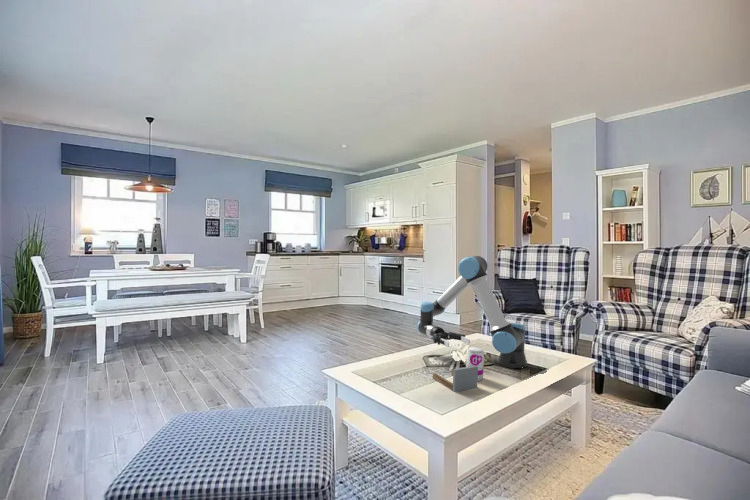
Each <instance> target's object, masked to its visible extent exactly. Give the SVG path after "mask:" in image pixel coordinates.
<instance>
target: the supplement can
mask: <svg viewBox="0 0 750 500" xmlns="http://www.w3.org/2000/svg"><path fill="white" fill-rule="evenodd" d="M484 355H485V351H484V349H483V348H481V347H478V346H468V348H467V350H466V358H465V359H466V365H465V367H470V366H478V377H477V382H479V381H482V380H483V379H484V364H485V363H484V360H485V359H484V357H485V356H484Z"/></svg>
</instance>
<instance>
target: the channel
mask: <svg viewBox="0 0 750 500" xmlns="http://www.w3.org/2000/svg"><path fill="white" fill-rule="evenodd" d="M451 376H452V377H453V369H452V370H451ZM432 379H433V380H434V381H436V382H438V383H440V384H441V385H442V386H444V387H446V388H448V389H449V390H451V391H453V382H451V381H450V380H448V379H446V378H445V377H442V376H440V375H439V374H438V373H435V372H433V373H432ZM453 392H454V391H453Z"/></svg>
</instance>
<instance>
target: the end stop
mask: <svg viewBox="0 0 750 500" xmlns="http://www.w3.org/2000/svg"><path fill="white" fill-rule="evenodd" d="M452 370H453V376H452V383H453V393H456V392H461V391H467V390H468V391H469V390H472V389H476V388H478V381H477V377H478V366H470V367H466V366H465V367H458V368H453V369H452Z"/></svg>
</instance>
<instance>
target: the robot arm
mask: <svg viewBox="0 0 750 500" xmlns="http://www.w3.org/2000/svg"><path fill="white" fill-rule="evenodd" d="M457 267H458V268H457V271H458V274H459V275H460V276H458V277H457V279H456V280H455V281H454V282H453V283H452V284H450V286H448V287H447V289H446V290H445V291H444V292H443V293H442V294H441V295H440V296H438V298H437V299H436V300H435V301H434V302H431V301H422V302H421V304H420V320H419V321H418V322H417V324H416V329H417V331H418V332H419V333H420V334H422V335H424V336H426V337H429V338H430V339H431V340H432V341H433V343H434V344H437V345H439V346H440V345H442V346H445V347H446V348H449V347H450V341H448V340H456V341H457V340H458V341H460V342H462V343H464V344H466V345H471V339H470V338H468V337H466V335H465V334H460V333H456V332H452V331H449V332H446V331H445V330H444V328H442V327H440V326H438V325H435V324H434V317H436V316H439V315H441V314H443V313H444V312H445V310H446V308H448V306H450V305H451V303H453V302H454V301H455V300H456V299H457V298H458V297H459V296H460V295H461V294H462V293H463V292H464V291H465V290H466V289H467V288H468V287H469V286H471V288H472V290H473V292H474V294H475V296H476V299H477V300H478V302H479V305H480V306H481V309H482V311H483V313H484V315H485V317H486V319H487V322H488V323H489V325H490V329H489V333H490V335H491V337H492V338H491V344H492V346H493V348H494V349H495V350H496V351H497V352H499V353H500V354H499V356H498V358H497V360H498V361H497V363H498V364H499V365H500V366H502V367H504V368H509V369H514V368H522V367H525V366H527V367H528V360H527V359H526V355H525V354H526V353H525V341H526V325H524V324H523V323H522V324H521V323H518V322H517V323H516V322H510V321H508V320H507V319H506V318H505V315H504V313H503V311H502V309H501V307H500V305H499V303H498V301H497V299H496V296H495V295H494V293H493V291H492V288H491V286H490V284H489V282H488V280H487V279H488V278H487V277H488V273H487V270H488V262H487V260H486V259H485V258H483V257H482V256H480V255H473V256H471V255H470V256H467V257H464V258H462V259H461V260H460V261H459V263H458V266H457ZM522 369H523V368H522Z"/></svg>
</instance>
